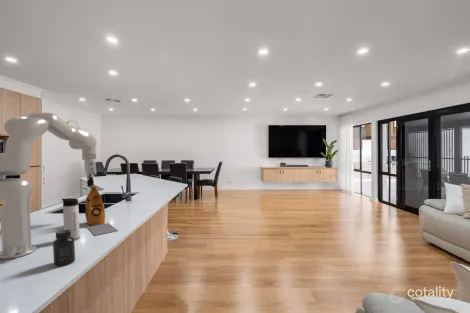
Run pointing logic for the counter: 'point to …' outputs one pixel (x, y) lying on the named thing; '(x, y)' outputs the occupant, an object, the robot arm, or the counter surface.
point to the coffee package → (94, 208)
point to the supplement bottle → (63, 248)
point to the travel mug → (71, 216)
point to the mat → (102, 229)
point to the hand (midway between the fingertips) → (90, 186)
